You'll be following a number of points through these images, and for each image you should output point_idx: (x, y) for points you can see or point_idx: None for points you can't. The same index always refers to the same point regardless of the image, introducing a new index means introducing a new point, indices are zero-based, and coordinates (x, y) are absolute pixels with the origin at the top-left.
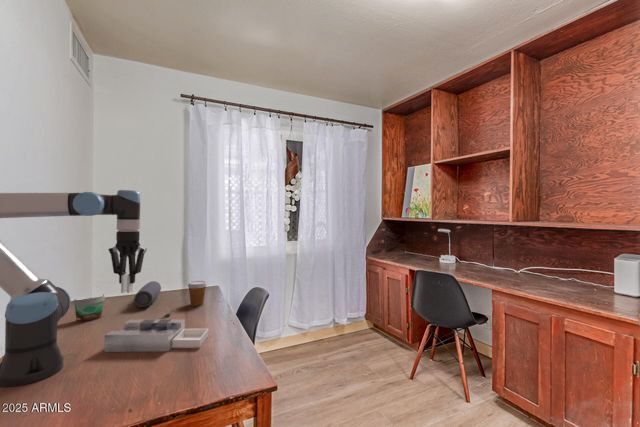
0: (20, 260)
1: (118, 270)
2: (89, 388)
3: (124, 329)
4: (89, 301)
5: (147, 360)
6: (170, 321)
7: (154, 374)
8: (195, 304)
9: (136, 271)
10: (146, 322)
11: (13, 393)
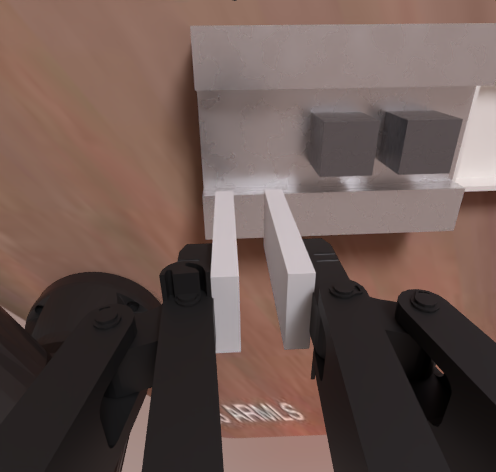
0: None
1: (138, 375)
2: (294, 369)
3: (212, 110)
4: None
5: (374, 261)
6: (456, 130)
7: None
8: None
9: (418, 384)
10: (347, 165)
11: (151, 387)
